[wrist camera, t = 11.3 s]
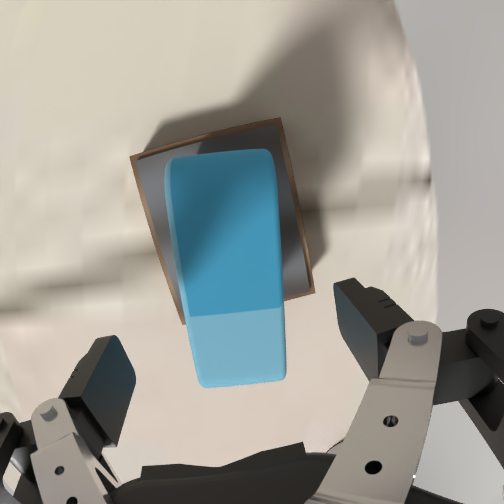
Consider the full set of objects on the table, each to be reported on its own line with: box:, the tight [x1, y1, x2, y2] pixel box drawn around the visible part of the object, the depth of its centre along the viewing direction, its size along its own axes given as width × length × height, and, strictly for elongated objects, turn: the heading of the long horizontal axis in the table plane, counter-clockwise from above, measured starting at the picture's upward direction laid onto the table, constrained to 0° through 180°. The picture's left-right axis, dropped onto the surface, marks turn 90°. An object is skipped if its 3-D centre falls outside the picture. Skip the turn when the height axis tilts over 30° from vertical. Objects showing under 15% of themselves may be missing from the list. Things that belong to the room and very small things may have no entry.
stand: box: [130, 118, 315, 325], centre depth 27 cm, size 15×12×4 cm
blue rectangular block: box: [164, 149, 286, 388], centre depth 20 cm, size 12×4×12 cm, turn 5°
